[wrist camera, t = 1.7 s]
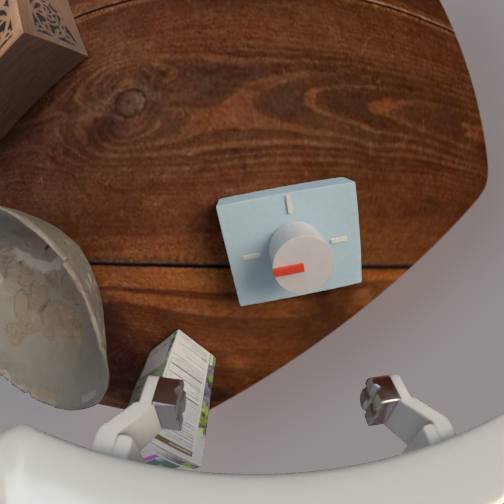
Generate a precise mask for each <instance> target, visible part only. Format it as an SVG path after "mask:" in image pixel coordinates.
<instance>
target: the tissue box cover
mask: <svg viewBox="0 0 504 504" xmlns="http://www.w3.org/2000/svg"><path fill="white" fill-rule="evenodd" d="M87 57H88V54H87V52H86V49H85V47H84V44H83V42H82V39H81V36H80V34H79V31H78V28H77V26H76V23H75V20H74V17H73V15H72V12H71V9H70V6H69V3H68V0H0V141H1V140H2V139H3V138H4V137H5V135H6V134H7V133H8V132H9V131H10V130H11V128H12V127H13V126H14V125H15V124H16V123H17V122H18V120H19V119H20V118H21V117H22V116H23V115H24V114H25V113H26V112H27V111H28V110H29V109H30V108H31V106H32V105H33V104H34V103H35V102H36V101H37V100H38V99H39V98H40V97H41V96H43V95H44V94H45V93H46V92H47V91H48V90H49V89H50V88H51V87H52V86H53V85H54V84H55V83H57V82H58V81H59V80H60V79H61V78H62V77H63V76H65V75H66V74H67V73H68V72H69V71H70V70H72V69H73V68H74V67H75V66H77V65H78V64H79V63H80V62H82V61H83V60H84V59H85V58H87Z"/></svg>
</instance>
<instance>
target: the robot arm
mask: <svg viewBox="0 0 504 504" xmlns="http://www.w3.org/2000/svg"><path fill="white" fill-rule="evenodd" d="M365 384H366V386H367V387H366V388H364V389H363V390H362V393H361V396H360V402H361V406H362V409H364V410H365V411H366V414H365V418H366V420H367V423H368V426H373V425H379V424H385V425H386V426H387V427H388V428H389V429H390V430H391V431H392V432H393V433H394V434H396V435H397V436H398V437H399V438H400V439H401V440H402V441H403V442H405V443H406V444H407V445H408V446H407V448H406V449H405V450H404V451H403V453H402V454H401V455H397V456H393V457H389V458H385V459H382V460H377V461H373V462H368V463H363V464H358V465H353V466H348V467H341V468H334V469H328V470H319V471H310V472H299V473H285V474H223V473H209V472H198V471H189V470H181V469H174V468H167V467H161V466H156V465H150V464H146V462H145V461H144V459H143V457H142V455H141V454H140V451H141V450H142V449H143V448H144V447H145V446H146V445H147V444H148V443H149V442H150V441H151V440H152V439H153V438H154V437H155V436H156V435H157V434H158V433H159V432H160V431H161V430H162V429H169V430H178V431H181V429H182V423H183V415H182V413H183V412H185V407H186V393H185V391H184V390H183V389H184V382H183V380H180V379H173V378H166V377H158V376H152V375H149V376H148V377H147V380H146V383H145V385H144V388H143V391H142V394H141V397H140V400H139V402H135V403H133V404H132V405H130V406H129V407H128V408H126V409H125V410H123V411H122V412H121V413H119V414H118V415H116V416H115V417H113V418H112V419H110V420H109V421H107V422H106V423H105V424H103V425H102V426H100V427H99V428H98V430H97V433H96V436H95V438H94V441H93V443H92V446H91V449H88V448H85V447H82V446H79V445H76V444H73V443H71V442H68V441H65V440H63V439H60V438H58V437H55V436H53V435H50V434H47V433H46V432H43V431H41V430H39V429H37V428H34V427H32V426H30V425H27V424H20V425H17V426H14V427H12V428H10V429H8V430H5V431H4V432H1V433H0V504H504V413H503V414H500V415H498V416H496V417H494V418H492V419H490V420H488V421H486V422H485V423H482V424H480V425H478V426H476V427H474V428H472V429H469V430H467V431H465V432H463V433H461V434H458V435H456V434H455V432H454V430H453V428H452V426H451V424H450V422H449V421H448V419H447V418H446V417H445V416H443V415H441V414H440V413H438V412H437V411H435V410H433V409H432V408H430V407H429V406H427V405H425V404H424V403H422V402H421V401H419V400H417V399H416V398H414V397H410V395H409V393H408V391H407V389H406V387H405V385H404V384H403V382H402V380H401V378H400V376H399V375H398V374H395V375H388V376H380V377H373V378H369V379H367V381H366V383H365Z"/></svg>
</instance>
